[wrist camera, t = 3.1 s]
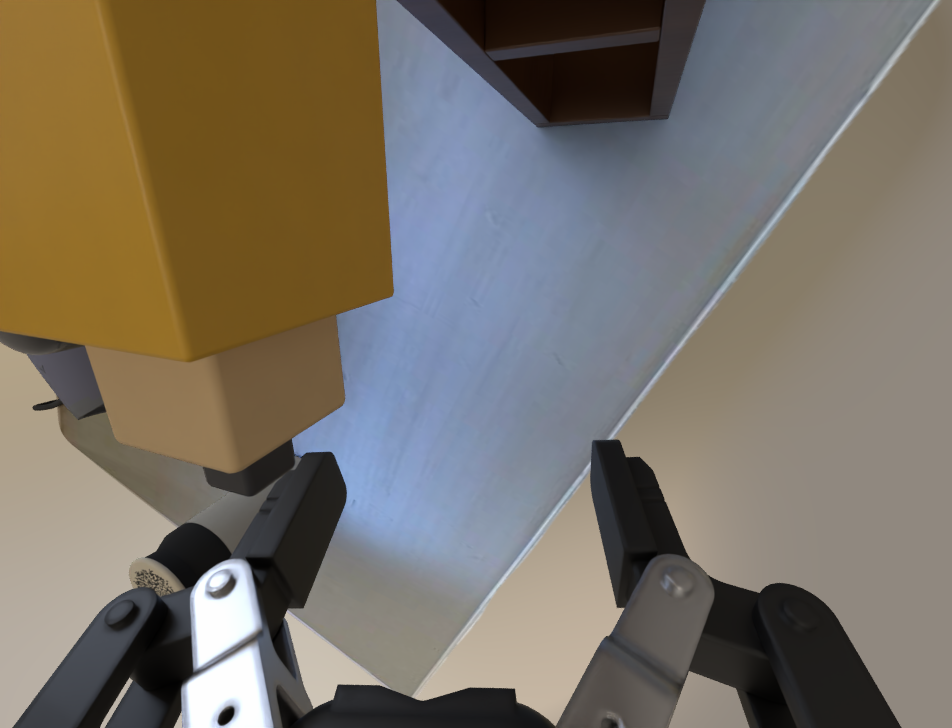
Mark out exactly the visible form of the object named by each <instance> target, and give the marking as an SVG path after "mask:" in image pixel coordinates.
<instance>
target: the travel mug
mask: <svg viewBox="0 0 952 728" xmlns="http://www.w3.org/2000/svg"><path fill="white" fill-rule="evenodd" d="M300 460H301V458H299V457H297V456H295V461H296V462H295V466H294V467H293V468H292V469H291V470H295V469H296V467H297V465H298V464H299V462H300ZM284 475H285V474H284ZM284 475H283V476H284ZM281 477H282V476H281ZM281 477H280V478H281ZM280 478H279V479H280ZM279 479H277V480H276V481H275V482H273V483H272V484H271V485H269V486H268V487H266V488H265V489H264V490H262V491H261V492H260V493H258V494H257V495H255V496H252V497H246V496H243V495H240V494H236V493H233V492H230V493H228V494H227V495H225V496H224V497H223V498H221V499H220V500H218V501H217V502H215V503H214V504H212V505H211V506H209V507H208V508H206V509H205V510H203V511H202V512H200V513H199V514H197V515H196V516H195V517H193V518H192V519H190V520H189V521H187V522H186V523H184V524H183V525H181V526H180V527H178V528H177V529H175V530H174V531H172V532H171V533H169V534H168V535H167V536H166V537H165V538H164V540H163V541H162V543H161V544H160V546H159V548H158V549H157V551H156V552H154V553H152V554H151V555H149V556H147V557H145V558H138V559H136V560H135V561H133V562H132V564H131V566H130V569H129V576H130V581H131V584H132V586H133V588H134V589H135V588H139V587H149V588H151V589H153V590H154V591H155V592H156V593H157V594H158V595H159V597H161V596H164V595H167V594H170V593H174V592H177V591H180V590H183V589H186V588H189V587H192V586H195V585H196V583H197V582H198V580H199V579H200V578H201V577H202V576H203V575H204V574H205V573H206V572H207V571H208V570H210V569H211V568H212V567H214V566H215V565H217V564H219V563H221V562H223V561H226V560H229V558H230V557H231V555H232V553H233V552H234V550H235V548H236V547H237V545H238V544H239V542H240V540H241V539H242V537H243V535H244V534H245V532H246V530H247V529H248V527H249V525H250V524H251V522H252V521H253V519H254V517H255V516H256V514H257V513H259V509H260V507H261V506H262V504H263V502H264V501H266V499H267V496H268V494H269V493H270V491H271V489H272V488H273V486H274V484H275V483H276V482H277V481H278V480H279Z"/></svg>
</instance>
